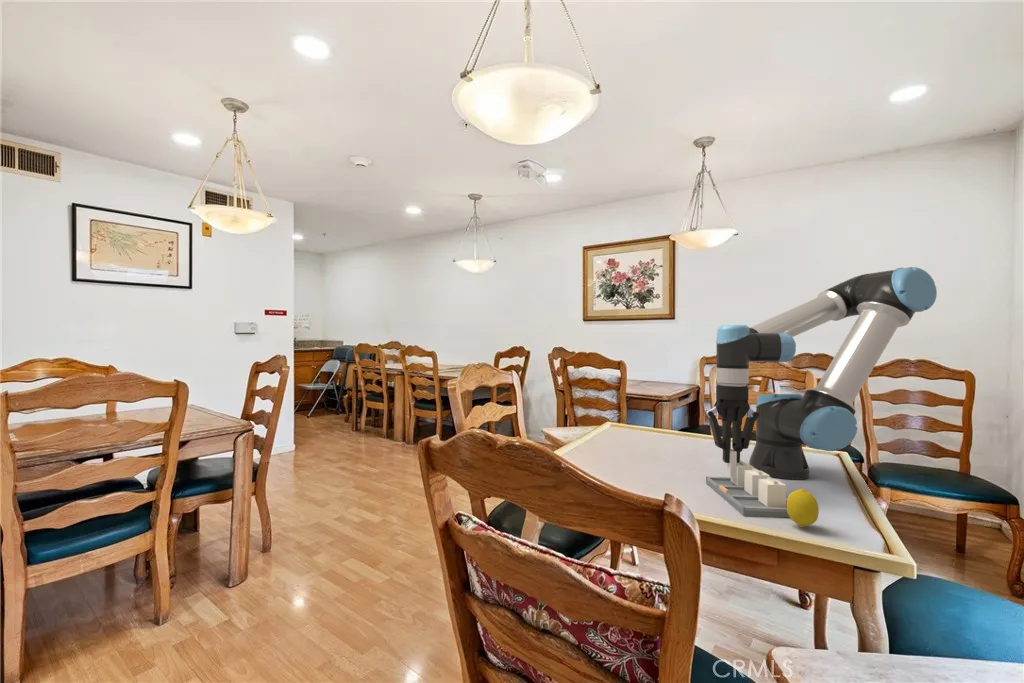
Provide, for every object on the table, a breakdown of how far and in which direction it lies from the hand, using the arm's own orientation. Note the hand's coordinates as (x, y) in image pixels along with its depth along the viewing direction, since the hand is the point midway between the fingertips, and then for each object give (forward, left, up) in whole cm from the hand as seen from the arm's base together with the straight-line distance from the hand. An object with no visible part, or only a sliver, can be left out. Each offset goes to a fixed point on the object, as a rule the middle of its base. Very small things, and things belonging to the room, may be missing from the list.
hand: (731, 475), depth 113 cm
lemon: (-5, +23, -4) cm, 24 cm away
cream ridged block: (-3, +7, -2) cm, 8 cm away
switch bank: (-1, +7, -4) cm, 8 cm away
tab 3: (-3, +14, -2) cm, 14 cm away
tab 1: (-3, 0, -2) cm, 3 cm away
